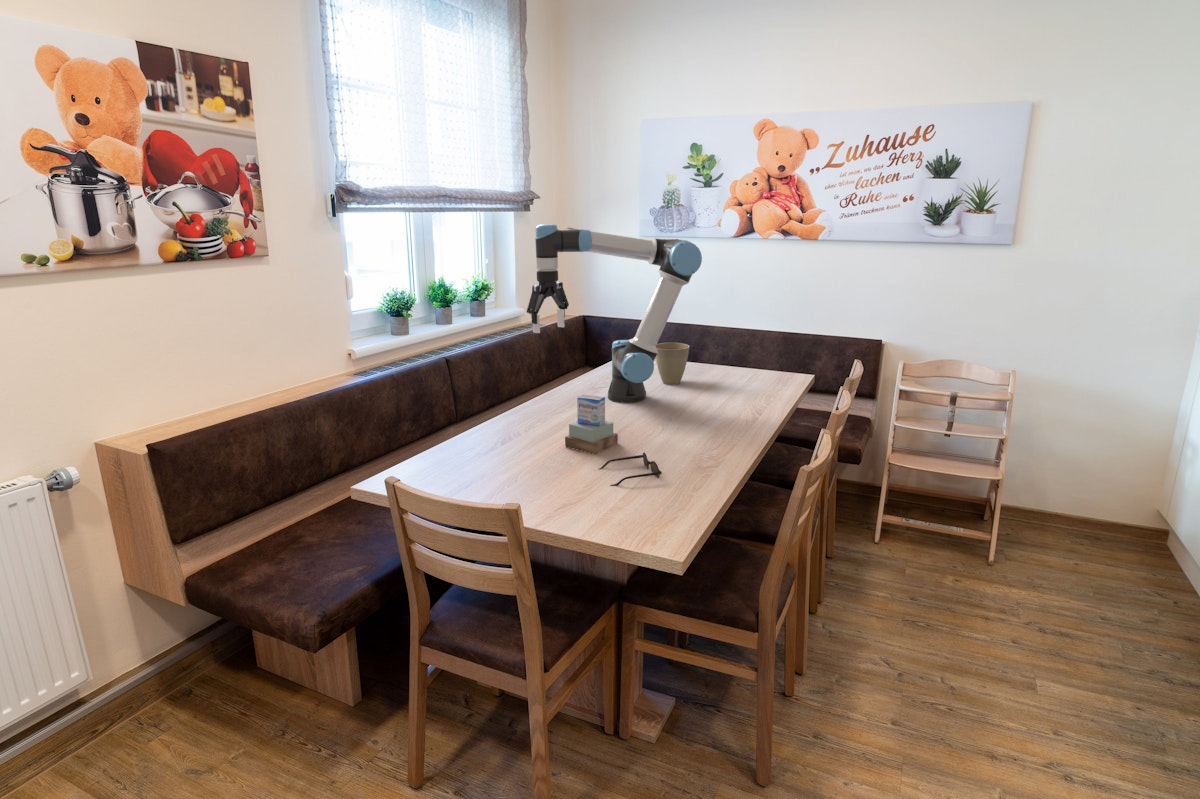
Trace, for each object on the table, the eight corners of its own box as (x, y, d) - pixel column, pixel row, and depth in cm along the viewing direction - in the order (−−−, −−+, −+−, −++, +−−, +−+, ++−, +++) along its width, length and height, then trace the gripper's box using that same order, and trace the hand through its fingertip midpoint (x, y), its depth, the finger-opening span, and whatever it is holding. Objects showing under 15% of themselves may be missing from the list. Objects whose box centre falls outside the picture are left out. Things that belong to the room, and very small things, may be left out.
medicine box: (577, 423, 228) (576, 397, 225) (582, 419, 232) (582, 393, 229) (600, 426, 225) (599, 400, 222) (605, 422, 229) (605, 396, 226)
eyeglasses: (661, 482, 201) (661, 465, 200) (611, 488, 197) (611, 471, 196) (643, 464, 215) (643, 448, 213) (596, 470, 211) (595, 453, 209)
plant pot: (664, 376, 315) (665, 341, 311) (694, 381, 307) (695, 344, 303) (646, 384, 304) (647, 346, 299) (677, 389, 295) (678, 351, 291)
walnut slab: (587, 438, 238) (587, 427, 237) (617, 445, 232) (617, 433, 230) (565, 448, 229) (565, 436, 228) (595, 456, 222) (595, 444, 221)
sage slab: (590, 428, 236) (589, 416, 235) (613, 434, 230) (613, 422, 229) (569, 436, 229) (568, 424, 228) (592, 442, 222) (592, 430, 221)
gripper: (561, 266, 263) (562, 323, 269) (514, 272, 244) (517, 334, 249) (577, 267, 259) (578, 325, 264) (531, 273, 239) (533, 336, 245)
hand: (549, 329), depth 257 cm, fingers open, 13 cm apart
